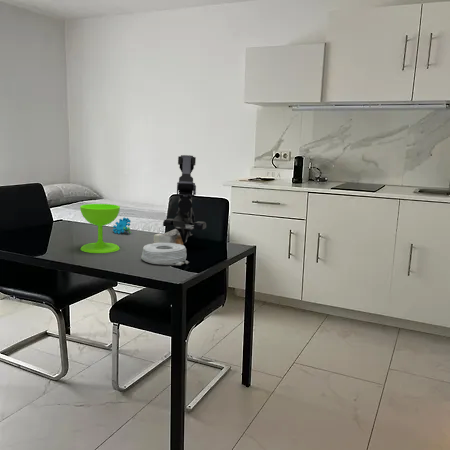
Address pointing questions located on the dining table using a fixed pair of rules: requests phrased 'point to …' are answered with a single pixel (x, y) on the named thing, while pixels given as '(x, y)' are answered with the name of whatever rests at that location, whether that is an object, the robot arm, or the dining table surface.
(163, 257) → the cable
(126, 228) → the blue lumpy cluster
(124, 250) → the dining table surface
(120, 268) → the dining table surface
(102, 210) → the wineglass
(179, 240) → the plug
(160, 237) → the grey long block
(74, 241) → the dining table surface
